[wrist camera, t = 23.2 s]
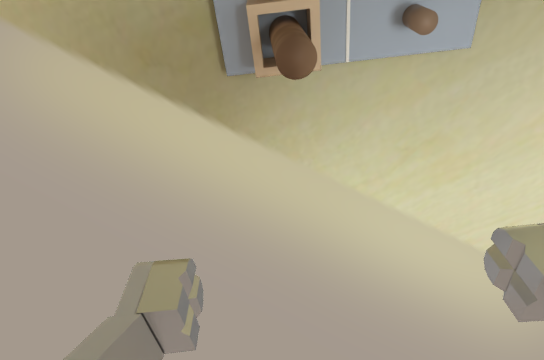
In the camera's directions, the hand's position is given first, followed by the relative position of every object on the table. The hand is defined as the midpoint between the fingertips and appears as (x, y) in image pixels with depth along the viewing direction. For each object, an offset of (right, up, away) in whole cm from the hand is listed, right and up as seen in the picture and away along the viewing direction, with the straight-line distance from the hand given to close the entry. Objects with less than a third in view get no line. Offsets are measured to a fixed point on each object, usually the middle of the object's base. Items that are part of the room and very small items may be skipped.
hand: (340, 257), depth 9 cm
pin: (-1, +16, +22) cm, 28 cm away
